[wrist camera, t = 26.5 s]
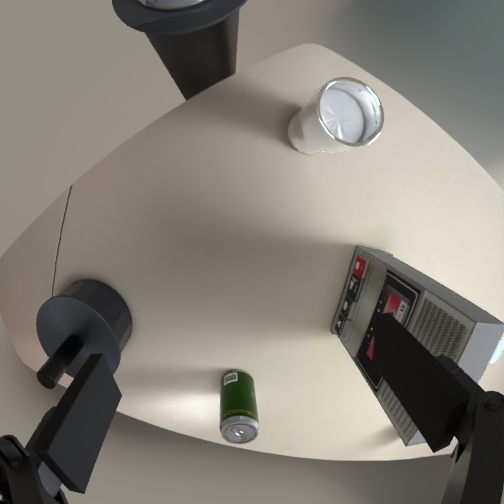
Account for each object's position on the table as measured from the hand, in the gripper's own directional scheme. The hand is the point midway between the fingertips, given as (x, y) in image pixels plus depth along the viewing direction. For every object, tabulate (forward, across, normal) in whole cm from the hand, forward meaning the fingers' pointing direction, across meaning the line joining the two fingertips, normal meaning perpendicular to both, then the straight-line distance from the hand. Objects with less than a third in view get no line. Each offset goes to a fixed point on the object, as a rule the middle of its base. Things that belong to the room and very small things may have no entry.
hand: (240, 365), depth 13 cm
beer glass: (+28, +12, +13) cm, 33 cm away
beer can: (+28, -3, -24) cm, 37 cm away
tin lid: (+21, -24, -9) cm, 33 cm away
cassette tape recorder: (+28, +18, -11) cm, 35 cm away
